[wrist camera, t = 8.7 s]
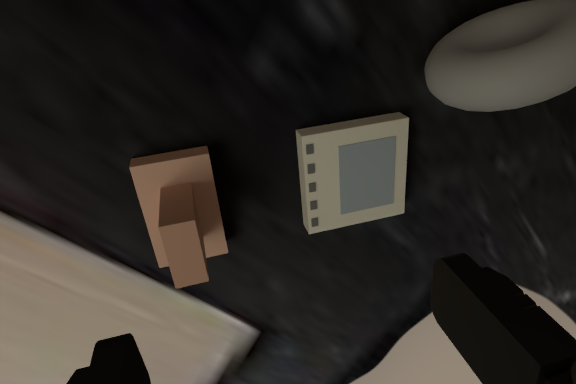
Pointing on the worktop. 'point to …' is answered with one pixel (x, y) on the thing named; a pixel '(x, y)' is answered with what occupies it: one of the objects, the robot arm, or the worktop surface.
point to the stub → (180, 211)
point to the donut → (506, 57)
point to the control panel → (352, 171)
